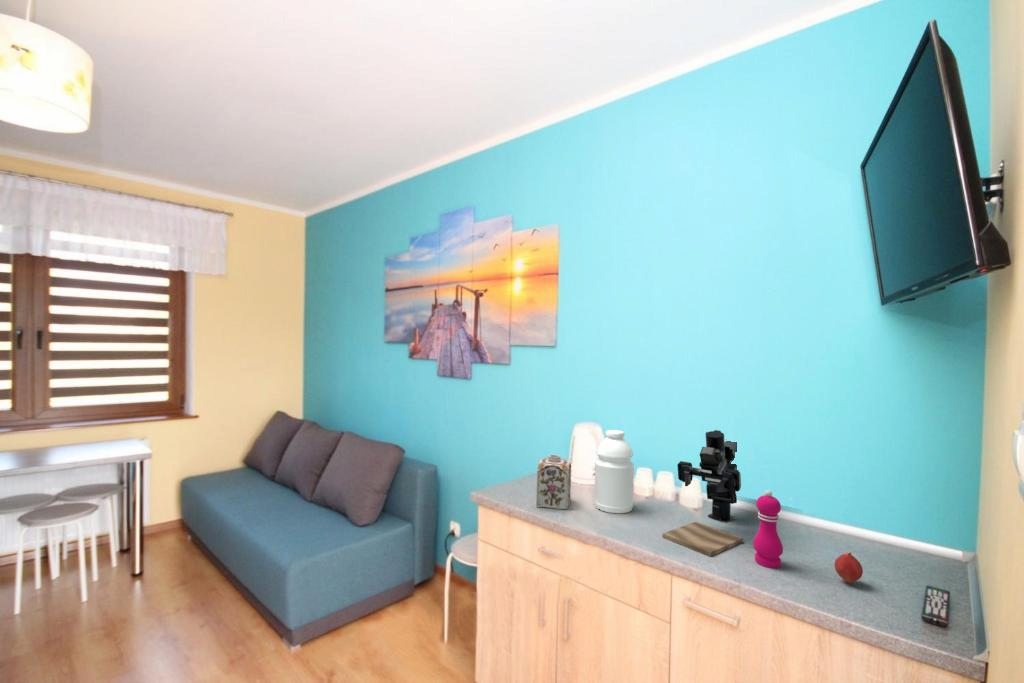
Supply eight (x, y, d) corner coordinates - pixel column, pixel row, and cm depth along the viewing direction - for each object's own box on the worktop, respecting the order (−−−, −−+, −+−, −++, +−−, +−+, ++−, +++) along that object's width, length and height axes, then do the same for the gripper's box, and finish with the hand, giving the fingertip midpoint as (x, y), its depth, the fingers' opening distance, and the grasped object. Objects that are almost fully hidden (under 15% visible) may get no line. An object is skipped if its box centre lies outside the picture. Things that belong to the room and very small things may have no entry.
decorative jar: (535, 507, 169) (536, 458, 169) (540, 497, 180) (541, 451, 180) (568, 510, 166) (569, 460, 166) (571, 500, 177) (572, 453, 178)
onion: (828, 577, 120) (829, 546, 120) (849, 576, 121) (849, 546, 121) (846, 589, 114) (847, 556, 114) (868, 588, 115) (868, 556, 115)
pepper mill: (779, 559, 130) (780, 488, 130) (785, 571, 123) (786, 495, 123) (751, 555, 132) (751, 485, 133) (755, 566, 125) (756, 492, 126)
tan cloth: (695, 525, 154) (695, 521, 154) (743, 542, 141) (743, 538, 141) (662, 537, 144) (662, 533, 144) (710, 556, 131) (710, 552, 131)
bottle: (638, 505, 172) (639, 430, 173) (626, 517, 161) (627, 436, 161) (602, 498, 180) (603, 426, 180) (588, 508, 168) (589, 431, 169)
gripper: (684, 439, 158) (668, 458, 146) (743, 447, 147) (732, 469, 135) (686, 469, 160) (671, 490, 148) (745, 479, 149) (734, 503, 137)
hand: (700, 487), depth 142 cm, fingers open, 9 cm apart
